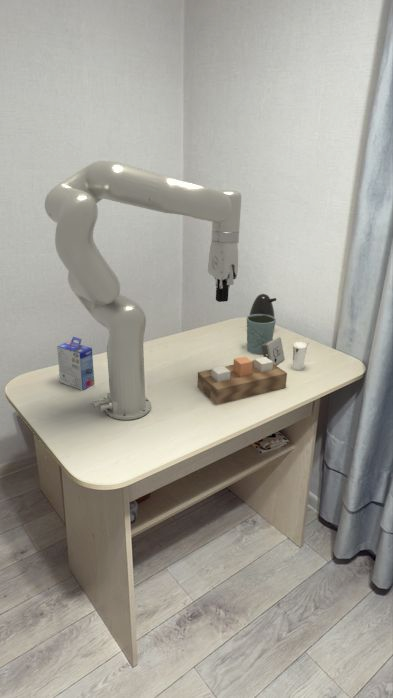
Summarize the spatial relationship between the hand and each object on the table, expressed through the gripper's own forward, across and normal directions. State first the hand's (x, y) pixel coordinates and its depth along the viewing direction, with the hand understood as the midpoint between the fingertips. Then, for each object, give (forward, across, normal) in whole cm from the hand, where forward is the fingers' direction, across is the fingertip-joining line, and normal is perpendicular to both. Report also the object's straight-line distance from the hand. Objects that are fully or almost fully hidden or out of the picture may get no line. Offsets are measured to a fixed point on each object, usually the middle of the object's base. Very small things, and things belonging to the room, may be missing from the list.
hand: (221, 300), depth 137 cm
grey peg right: (+24, +7, +12) cm, 28 cm away
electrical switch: (+25, -4, +23) cm, 35 cm away
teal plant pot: (+25, -15, +24) cm, 38 cm away
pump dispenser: (+25, -31, +35) cm, 53 cm away
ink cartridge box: (+27, -15, -40) cm, 51 cm away
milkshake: (+25, +4, +28) cm, 38 cm away
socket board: (+26, +8, +4) cm, 27 cm away
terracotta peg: (+23, +8, +4) cm, 25 cm away
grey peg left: (+25, +8, -3) cm, 26 cm away
